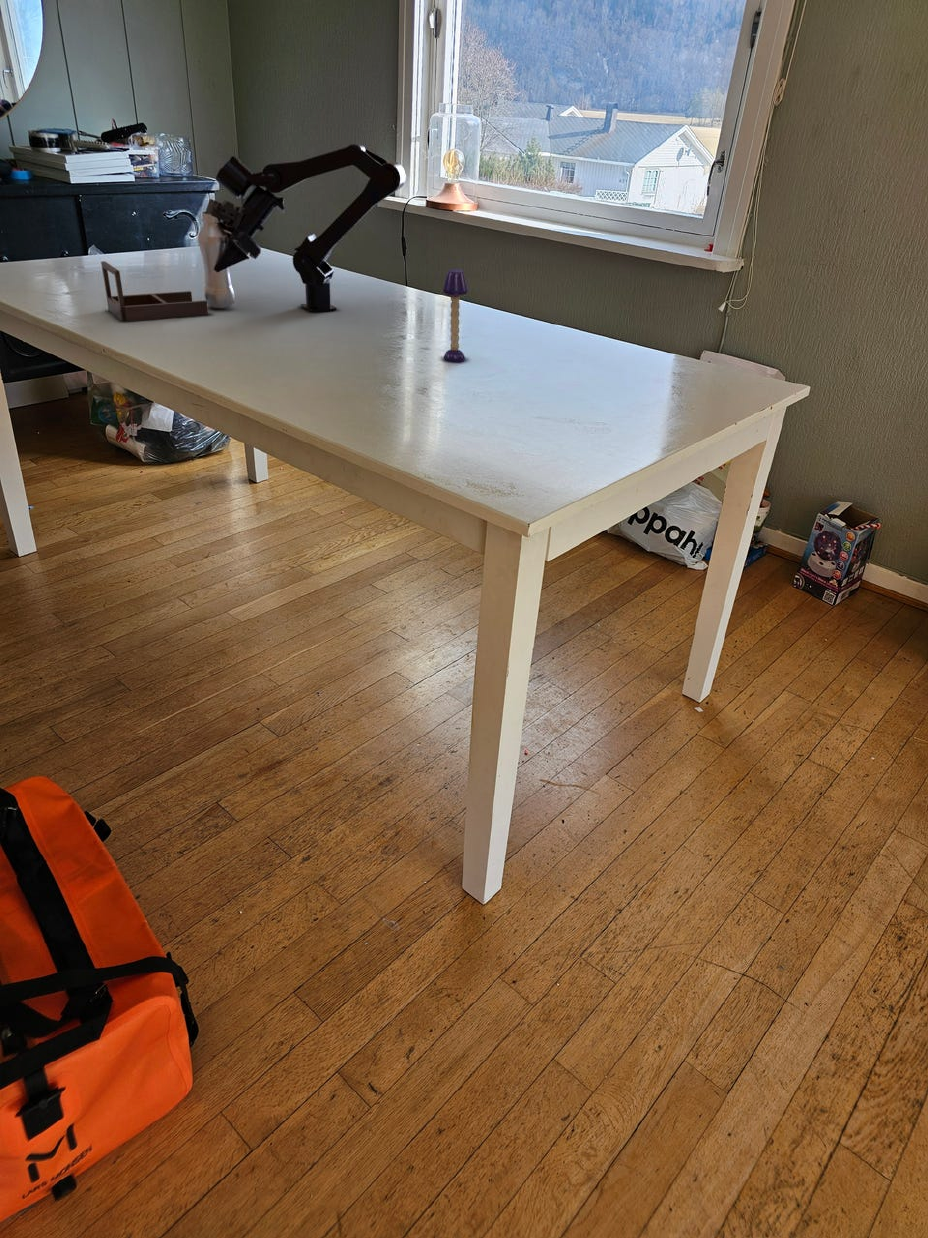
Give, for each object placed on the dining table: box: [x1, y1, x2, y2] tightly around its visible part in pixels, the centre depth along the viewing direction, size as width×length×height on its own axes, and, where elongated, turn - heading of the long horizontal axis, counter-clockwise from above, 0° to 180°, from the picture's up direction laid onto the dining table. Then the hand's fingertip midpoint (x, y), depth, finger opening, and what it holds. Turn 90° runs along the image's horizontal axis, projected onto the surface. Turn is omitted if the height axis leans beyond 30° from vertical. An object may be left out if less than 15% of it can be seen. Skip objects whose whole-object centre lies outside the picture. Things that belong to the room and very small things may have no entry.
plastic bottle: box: [197, 211, 236, 309], centre depth 191 cm, size 6×7×20 cm
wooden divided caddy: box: [100, 260, 209, 323], centre depth 187 cm, size 11×19×10 cm, turn 124°
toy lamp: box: [442, 269, 468, 363], centre depth 166 cm, size 5×5×17 cm
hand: (210, 268), depth 191 cm, fingers closed on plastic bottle, 6 cm apart
